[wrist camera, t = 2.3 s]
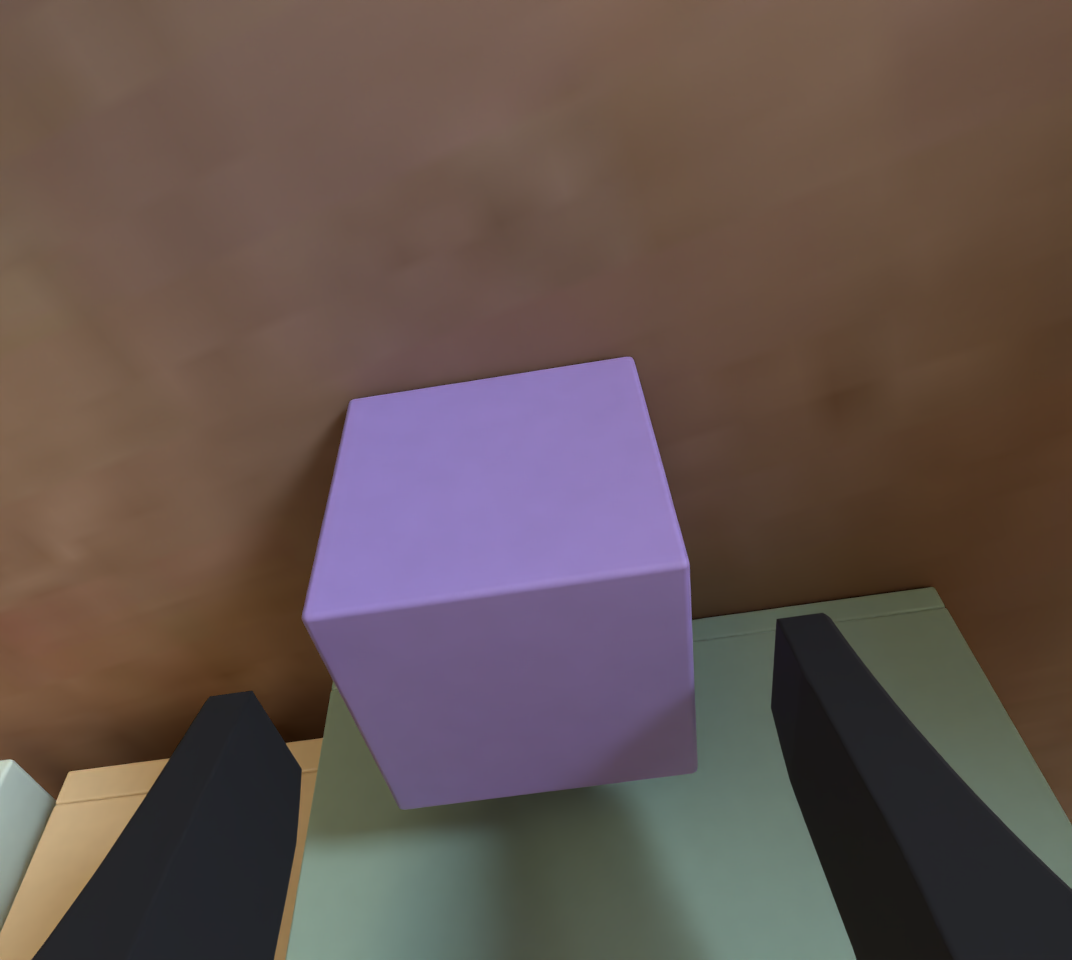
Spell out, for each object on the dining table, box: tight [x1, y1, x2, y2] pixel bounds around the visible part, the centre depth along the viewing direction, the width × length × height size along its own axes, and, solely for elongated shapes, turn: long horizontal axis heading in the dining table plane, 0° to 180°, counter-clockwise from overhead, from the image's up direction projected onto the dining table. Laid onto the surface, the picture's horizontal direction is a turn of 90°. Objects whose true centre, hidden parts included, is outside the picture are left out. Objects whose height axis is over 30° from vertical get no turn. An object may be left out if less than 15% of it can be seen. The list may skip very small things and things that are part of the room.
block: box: [302, 357, 698, 810], centre depth 13 cm, size 5×5×5 cm
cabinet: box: [285, 587, 1072, 960], centre depth 19 cm, size 13×13×8 cm
